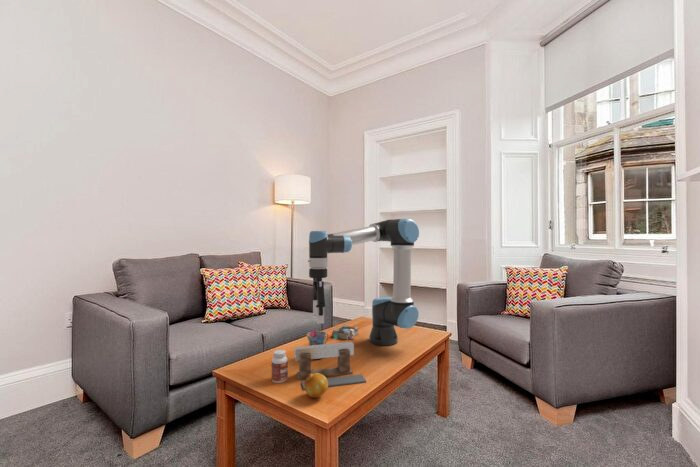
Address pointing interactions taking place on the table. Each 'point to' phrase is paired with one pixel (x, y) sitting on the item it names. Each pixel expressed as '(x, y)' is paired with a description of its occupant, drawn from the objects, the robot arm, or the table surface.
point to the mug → (317, 338)
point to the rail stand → (340, 370)
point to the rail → (323, 350)
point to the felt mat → (343, 380)
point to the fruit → (316, 385)
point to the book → (345, 332)
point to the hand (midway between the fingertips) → (318, 319)
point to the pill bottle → (279, 366)
